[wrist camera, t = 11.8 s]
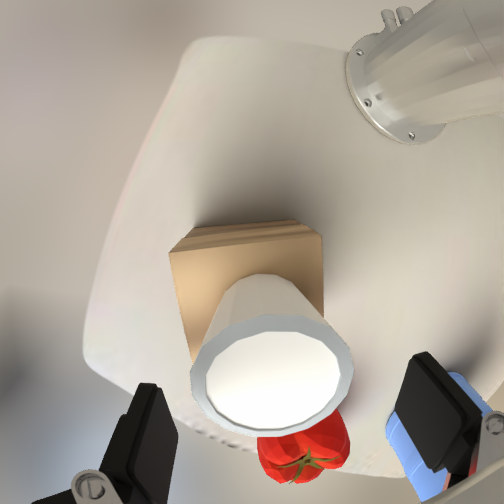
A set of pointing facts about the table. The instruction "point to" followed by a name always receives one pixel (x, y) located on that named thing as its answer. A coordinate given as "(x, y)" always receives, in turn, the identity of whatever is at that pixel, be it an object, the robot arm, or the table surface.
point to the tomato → (305, 451)
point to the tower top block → (241, 270)
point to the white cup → (269, 361)
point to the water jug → (409, 456)
